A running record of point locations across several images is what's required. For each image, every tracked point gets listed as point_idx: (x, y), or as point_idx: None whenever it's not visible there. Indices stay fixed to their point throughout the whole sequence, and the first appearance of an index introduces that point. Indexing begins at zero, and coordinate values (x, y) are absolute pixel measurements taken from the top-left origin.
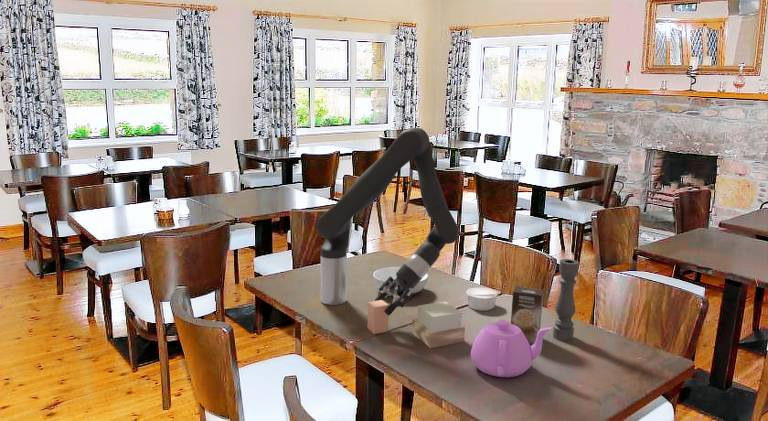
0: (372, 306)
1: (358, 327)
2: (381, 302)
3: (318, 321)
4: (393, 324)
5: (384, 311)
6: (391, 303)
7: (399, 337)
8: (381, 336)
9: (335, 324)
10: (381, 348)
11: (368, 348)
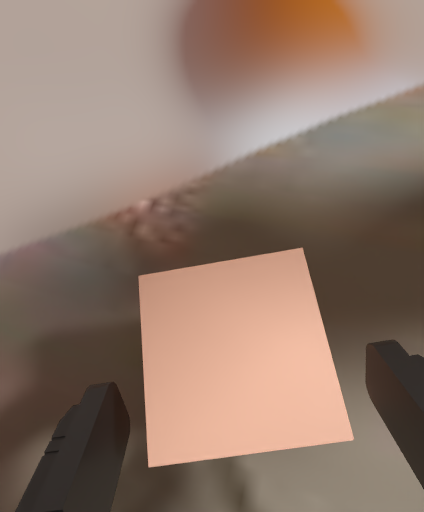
0: (184, 270)
1: None
2: (257, 399)
3: (401, 101)
4: (310, 507)
5: (111, 382)
6: (44, 497)
7: None
8: None
9: (354, 163)
10: (18, 313)
11: (45, 255)
